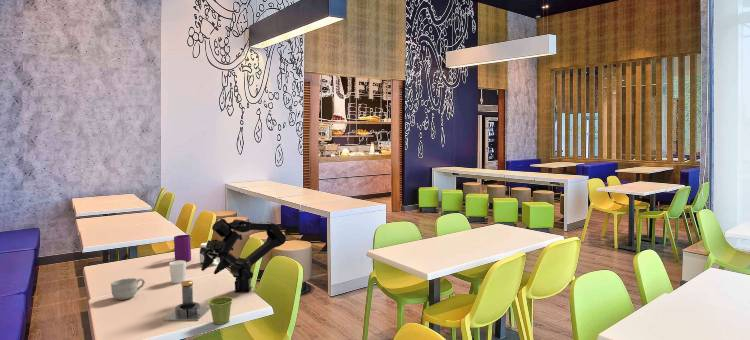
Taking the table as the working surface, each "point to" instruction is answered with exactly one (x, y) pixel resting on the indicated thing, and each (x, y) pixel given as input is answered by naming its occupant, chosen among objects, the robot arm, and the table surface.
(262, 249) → the robot arm
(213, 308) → the plant pot
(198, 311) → the rosette collar
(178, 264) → the white cup
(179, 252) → the purple box
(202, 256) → the spread jar
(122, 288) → the teacup
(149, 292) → the table surface
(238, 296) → the table surface
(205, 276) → the table surface
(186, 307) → the copper capped metal cylinder
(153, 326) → the table surface
